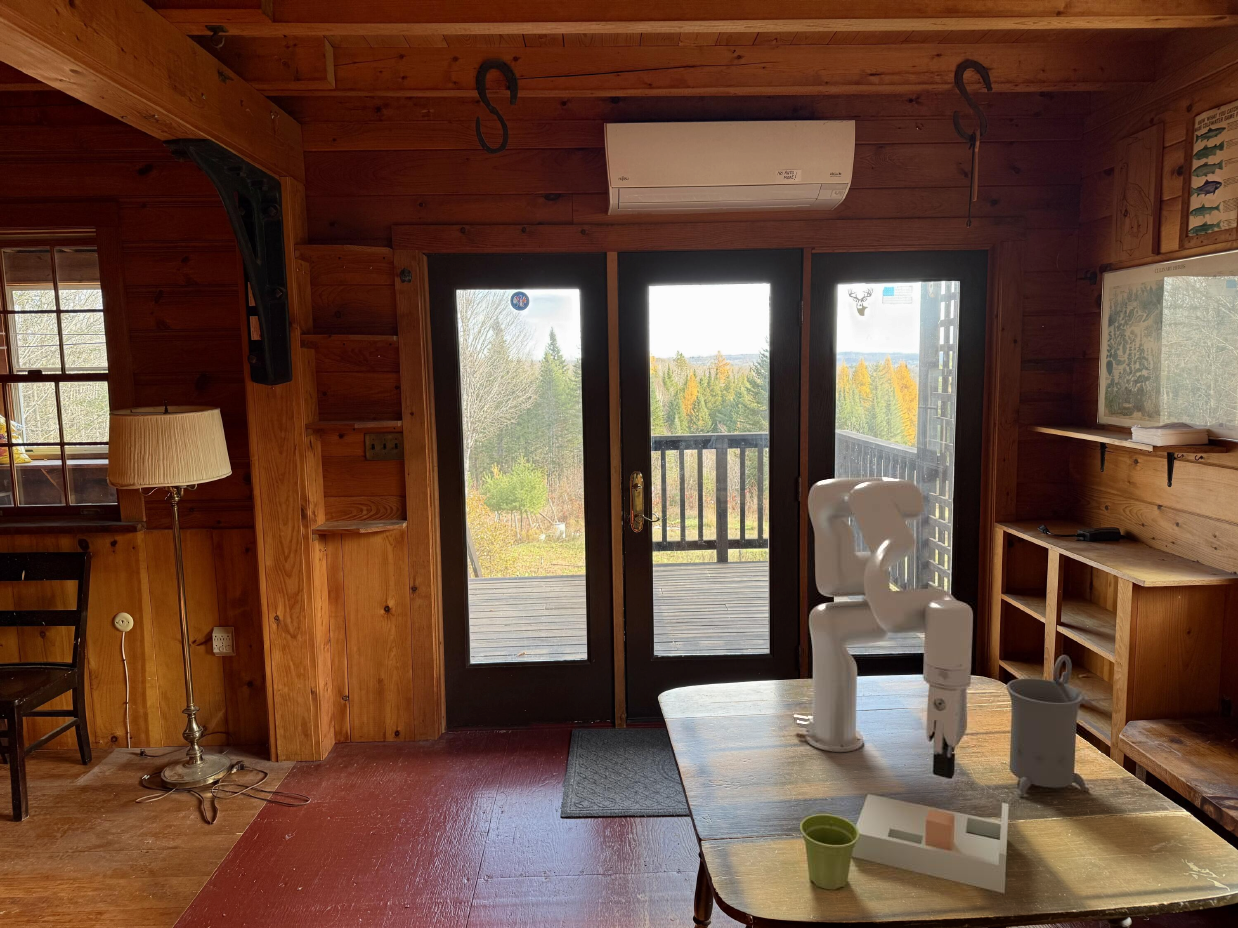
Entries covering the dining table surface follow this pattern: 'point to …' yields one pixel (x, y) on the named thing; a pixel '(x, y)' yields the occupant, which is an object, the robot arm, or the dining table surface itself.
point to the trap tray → (900, 842)
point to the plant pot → (829, 849)
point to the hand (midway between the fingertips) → (943, 774)
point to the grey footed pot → (1044, 730)
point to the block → (940, 829)
